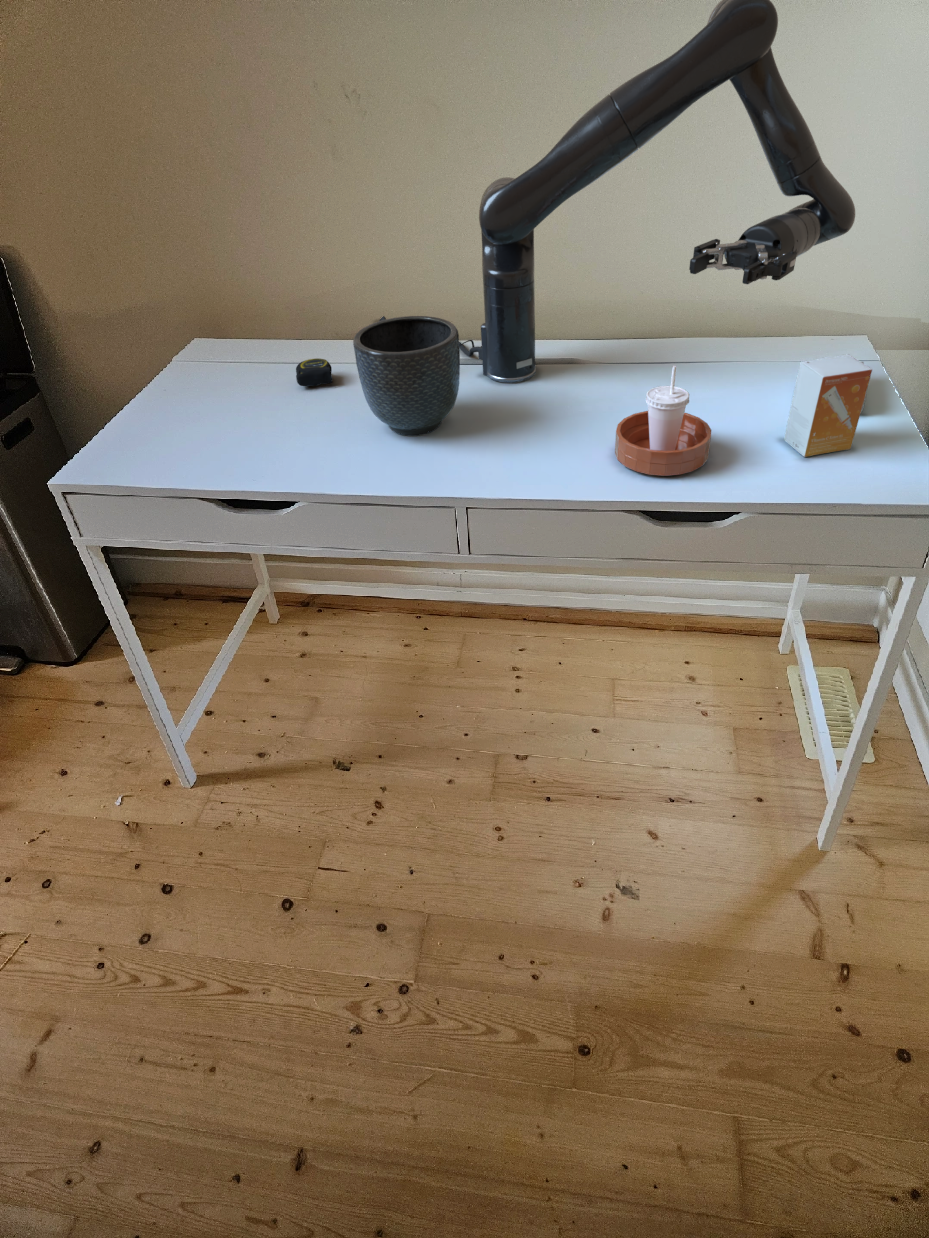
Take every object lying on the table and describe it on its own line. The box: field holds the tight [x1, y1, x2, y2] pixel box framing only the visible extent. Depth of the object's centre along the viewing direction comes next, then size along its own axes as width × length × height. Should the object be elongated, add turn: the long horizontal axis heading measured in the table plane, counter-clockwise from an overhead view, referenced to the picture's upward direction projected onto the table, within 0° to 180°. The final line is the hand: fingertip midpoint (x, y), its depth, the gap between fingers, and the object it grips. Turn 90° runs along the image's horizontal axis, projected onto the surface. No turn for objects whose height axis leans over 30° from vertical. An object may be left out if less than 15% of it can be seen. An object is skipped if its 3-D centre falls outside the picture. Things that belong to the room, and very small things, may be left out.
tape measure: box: [295, 358, 333, 387], centre depth 158 cm, size 7×7×4 cm
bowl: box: [614, 410, 712, 477], centre depth 126 cm, size 14×14×4 cm
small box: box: [783, 353, 873, 458], centre depth 123 cm, size 8×6×13 cm
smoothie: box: [645, 365, 690, 451], centre depth 123 cm, size 6×6×14 cm
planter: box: [352, 315, 461, 437], centre depth 137 cm, size 17×17×16 cm
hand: (718, 271), depth 118 cm, fingers open, 8 cm apart
